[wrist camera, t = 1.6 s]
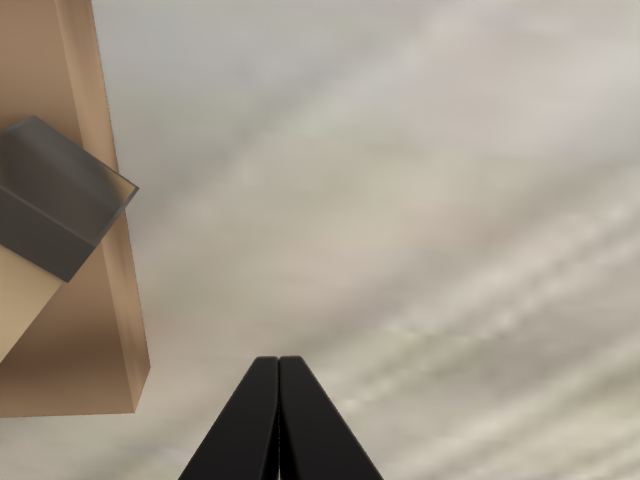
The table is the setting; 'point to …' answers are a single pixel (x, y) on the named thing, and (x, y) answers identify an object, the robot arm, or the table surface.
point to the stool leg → (48, 218)
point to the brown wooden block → (108, 257)
